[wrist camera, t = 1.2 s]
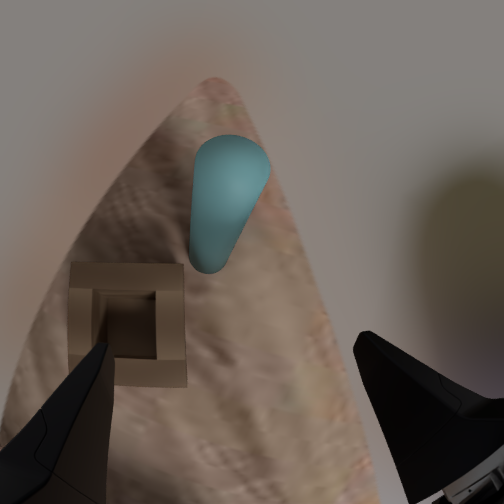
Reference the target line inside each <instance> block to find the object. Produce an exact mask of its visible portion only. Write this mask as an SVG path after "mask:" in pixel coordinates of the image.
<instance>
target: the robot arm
mask: <svg viewBox="0 0 504 504" xmlns="http://www.w3.org/2000/svg"><path fill="white" fill-rule="evenodd" d="M353 353H354V356H355V359H356V362H357V366H358V369H359V372H360V376H361V379H362V382H363V385H364V387H365V390H366V392H367V395H368V397H369V399H370V402H371V404H372V406H373V409H374V412H375V414H376V416H377V419H378V421H379V424H380V426H381V429H382V432H383V434H384V437H385V439H386V442H387V444H388V447H389V449H390V452H391V455H392V457H393V460H394V463H395V466H396V469H397V471H398V474H399V477H400V480H401V483H402V485H403V488H404V491H405V494H406V497H407V500H408V503H409V504H417V503H418V502H420V501H422V500H424V499H426V498H428V497H430V496H431V495H433V494H435V493H437V492H438V491H440V490H442V491H443V493H444V495H442V496H441V497H439V498H438V499H437V500H435V501H433V502H432V504H504V398H498V399H490V398H485V397H483V396H481V395H479V394H477V393H475V392H473V391H471V390H469V389H467V388H464V387H462V386H461V385H459V384H457V383H455V382H453V381H452V380H450V379H448V378H446V377H445V376H443V375H442V374H440V373H438V372H437V371H435V370H433V369H432V368H430V367H428V366H427V365H425V364H424V363H422V362H420V361H419V360H417V359H415V358H414V357H412V356H411V355H409V354H407V353H405V352H404V351H402V350H401V349H399V348H398V347H396V346H394V345H393V344H391V343H389V342H388V341H386V340H385V339H383V338H381V337H380V336H378V335H377V334H375V333H373V332H371V331H363V332H361V333H359V335H358V338H357V340H356V342H355V344H354V347H353ZM114 376H115V359H114V356H113V353H112V349H111V346H110V344H109V343H104V342H98V343H97V344H96V345H95V346H94V347H93V348H92V349H91V350H90V351H89V352H88V353H87V355H86V356H85V357H84V358H83V359H82V360H81V361H80V362H79V364H78V365H77V366H76V367H75V368H74V369H73V370H72V372H71V373H70V374H69V375H68V376H67V377H66V378H65V380H64V381H63V382H62V383H61V384H60V385H59V387H58V388H57V389H56V390H55V391H54V392H53V394H52V395H51V396H50V397H49V398H48V400H47V401H46V402H45V403H44V404H43V406H42V407H41V409H39V410H38V412H37V413H36V414H35V415H34V416H33V418H32V419H31V420H30V421H29V422H28V423H27V425H26V426H25V427H24V428H23V429H22V430H21V431H20V432H19V433H18V434H17V435H16V436H15V437H14V438H13V439H12V440H11V441H10V442H9V443H8V444H7V445H6V446H5V447H4V448H3V449H2V450H1V451H0V504H106V477H107V461H108V449H109V438H110V429H111V421H112V413H113V404H114Z"/></svg>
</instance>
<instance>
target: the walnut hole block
mask: <svg viewBox="0 0 504 504" xmlns="http://www.w3.org/2000/svg"><path fill="white" fill-rule="evenodd" d="M98 342H104V343H109V344H110V346H111V349H112V353H113V356H114V359H115V376H114V385H119V386H135V387H165V388H187V365H186V345H185V315H184V264H167V263H103V262H71V270H70V282H69V297H68V366H69V374H70V373H71V372H72V370H73V369H74V368H75V367H76V366H77V365H78V364H79V362H80V361H81V360H82V359H83V358H84V357H85V356H86V355H87V353H88V352H89V351H90V350H91V349H92V348H93V347H94V346H95V345H96V344H97V343H98Z"/></svg>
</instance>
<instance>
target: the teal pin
mask: <svg viewBox="0 0 504 504" xmlns="http://www.w3.org/2000/svg"><path fill="white" fill-rule="evenodd" d="M269 175H270V162H269V159H268V157H267V155H266V153H265V152H264V151H263V149H262V148H261V147H260V146H259V145H257V144H256V143H255V142H253V141H251V140H249V139H247V138H245V137H241V136H237V135H221V136H217V137H214V138H212V139H210V140H208V141H206V142H205V143H204V144H203V145H202V146H201V147H200V149H199V150H198V152H197V154H196V157H195V167H194V178H193V191H192V206H191V222H190V242H189V259H190V262H191V264H192V266H193V267H194V268H195V269H196V270H198V271H199V272H201V273H205V274H212V273H216V272H218V271H220V270H221V269H222V268H223V267H224V265H225V264H226V262H227V260H228V258H229V256H230V254H231V252H232V250H233V248H234V246H235V244H236V242H237V240H238V238H239V236H240V234H241V232H242V230H243V228H244V226H245V224H246V222H247V220H248V218H249V216H250V214H251V212H252V210H253V208H254V206H255V204H256V202H257V200H258V198H259V196H260V194H261V192H262V190H263V188H264V186H265V184H266V182H267V180H268V178H269Z"/></svg>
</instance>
